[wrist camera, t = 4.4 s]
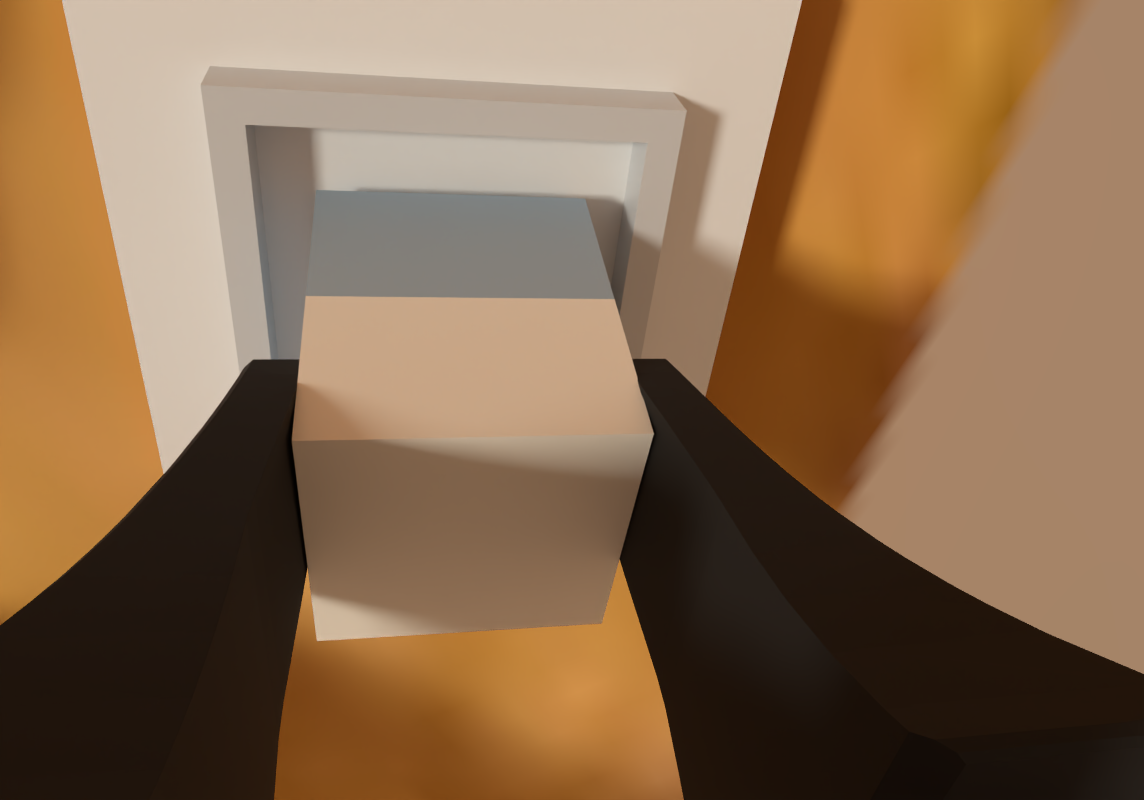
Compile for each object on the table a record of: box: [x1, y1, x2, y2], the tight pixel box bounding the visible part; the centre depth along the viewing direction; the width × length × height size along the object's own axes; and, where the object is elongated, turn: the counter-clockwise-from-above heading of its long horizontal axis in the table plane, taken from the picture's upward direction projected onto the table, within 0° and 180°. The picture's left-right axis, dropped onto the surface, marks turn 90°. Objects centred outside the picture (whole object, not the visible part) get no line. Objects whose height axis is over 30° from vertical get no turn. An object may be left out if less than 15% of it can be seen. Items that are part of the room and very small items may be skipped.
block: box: [292, 190, 654, 641], centre depth 13 cm, size 4×4×5 cm
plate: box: [62, 0, 802, 473], centre depth 15 cm, size 10×10×2 cm
